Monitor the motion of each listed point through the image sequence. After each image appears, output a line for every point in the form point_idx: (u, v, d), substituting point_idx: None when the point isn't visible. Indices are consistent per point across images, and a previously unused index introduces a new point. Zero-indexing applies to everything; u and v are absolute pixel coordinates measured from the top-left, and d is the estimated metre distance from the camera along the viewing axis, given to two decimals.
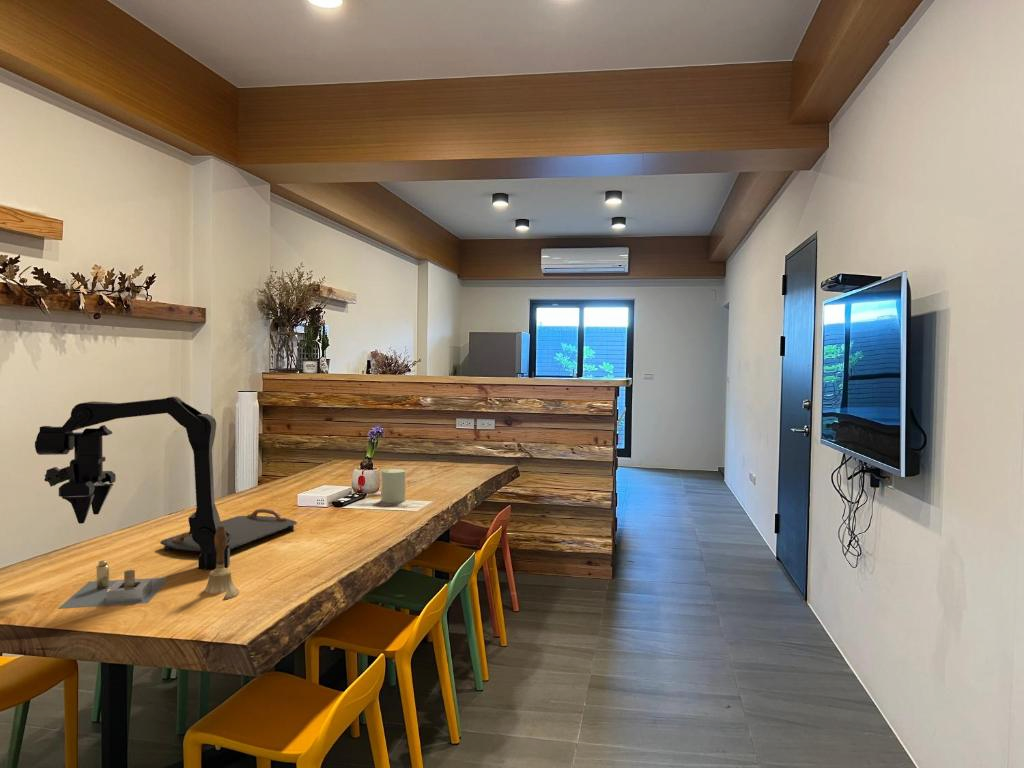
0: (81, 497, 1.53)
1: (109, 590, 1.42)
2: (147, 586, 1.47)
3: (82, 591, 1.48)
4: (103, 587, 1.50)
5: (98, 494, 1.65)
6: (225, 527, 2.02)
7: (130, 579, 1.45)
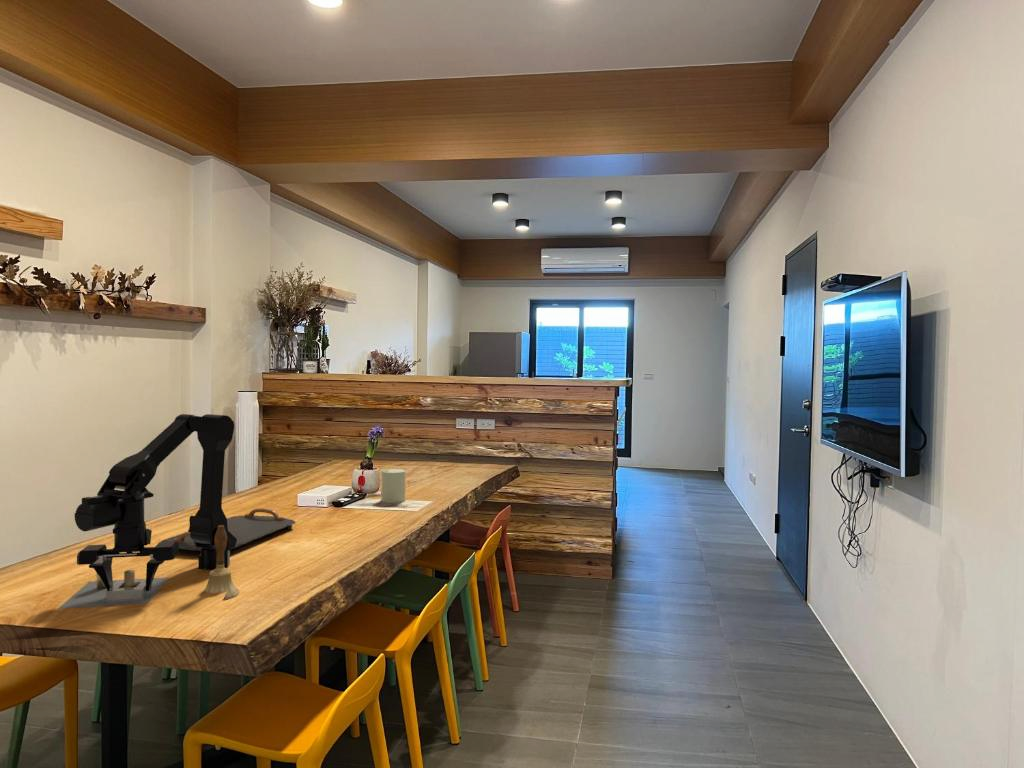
0: None
1: (109, 590, 1.42)
2: None
3: (82, 591, 1.48)
4: (103, 587, 1.50)
5: None
6: None
7: (130, 579, 1.45)
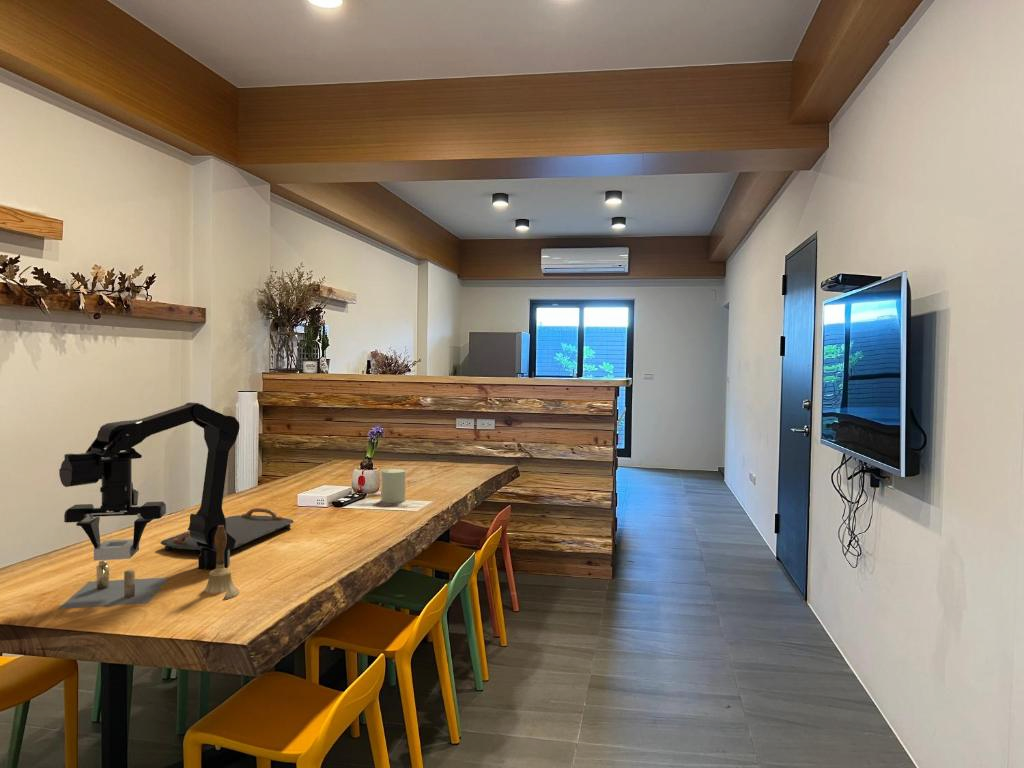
0: None
1: (97, 548, 1.44)
2: None
3: (82, 591, 1.48)
4: (103, 587, 1.50)
5: None
6: None
7: (130, 579, 1.45)
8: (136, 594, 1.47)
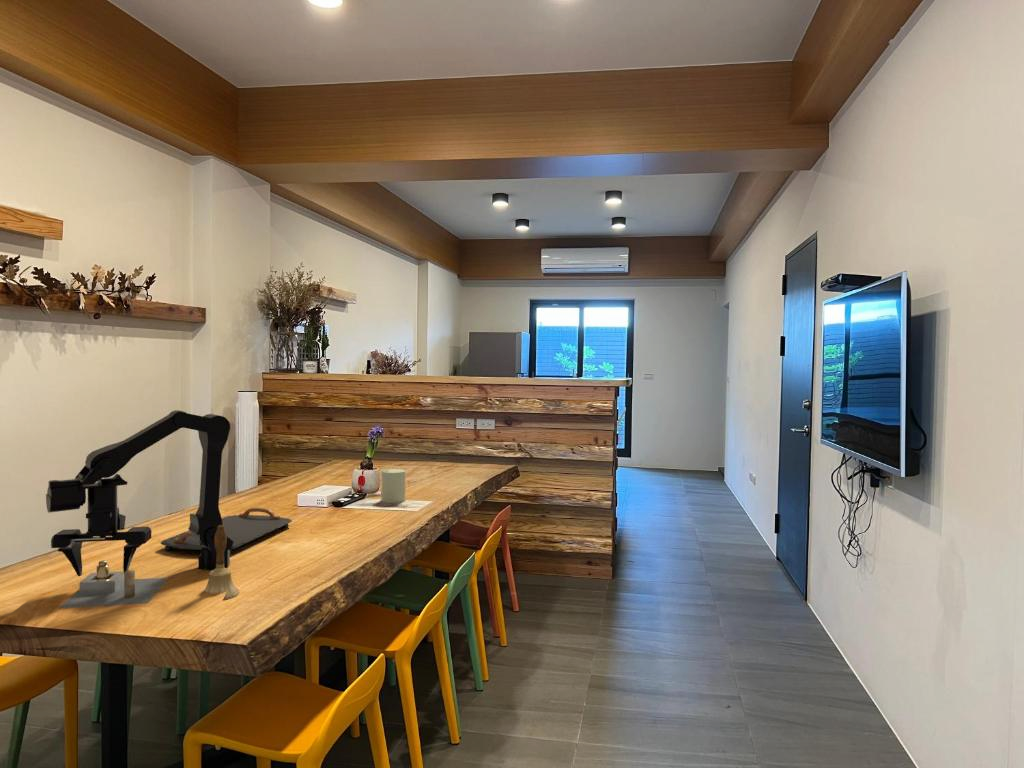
0: None
1: (82, 581, 1.47)
2: (120, 578, 1.52)
3: None
4: None
5: None
6: None
7: (130, 579, 1.45)
8: (136, 594, 1.47)
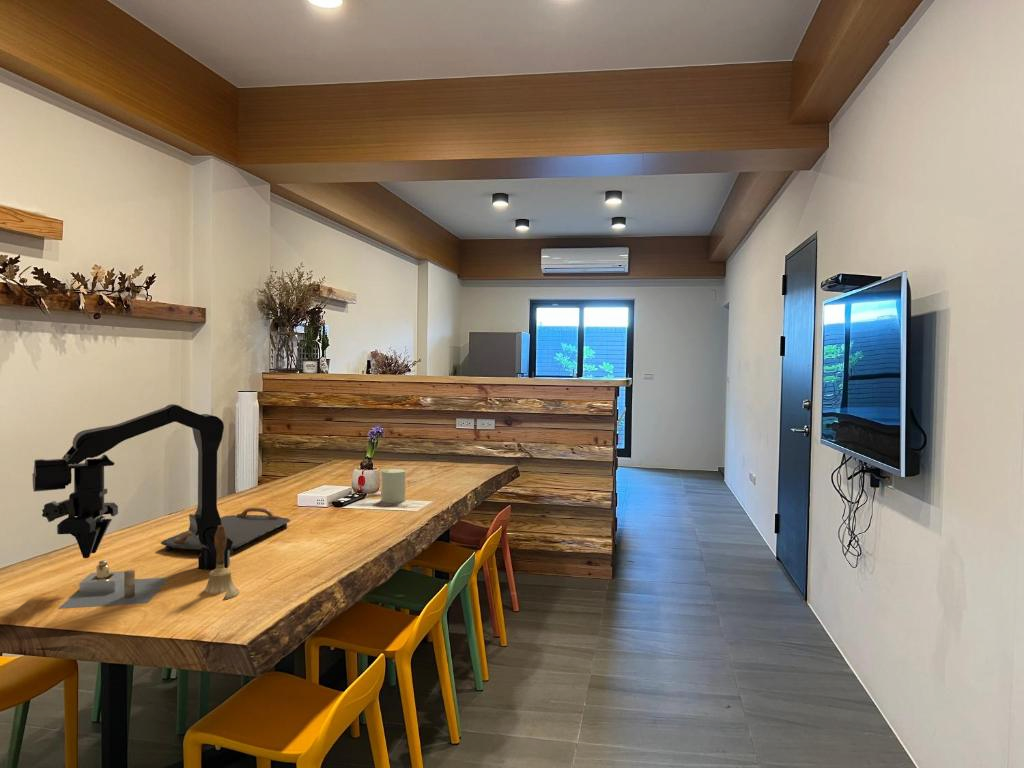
0: None
1: (82, 581, 1.47)
2: (120, 578, 1.52)
3: None
4: None
5: None
6: None
7: (130, 579, 1.45)
8: (136, 594, 1.47)
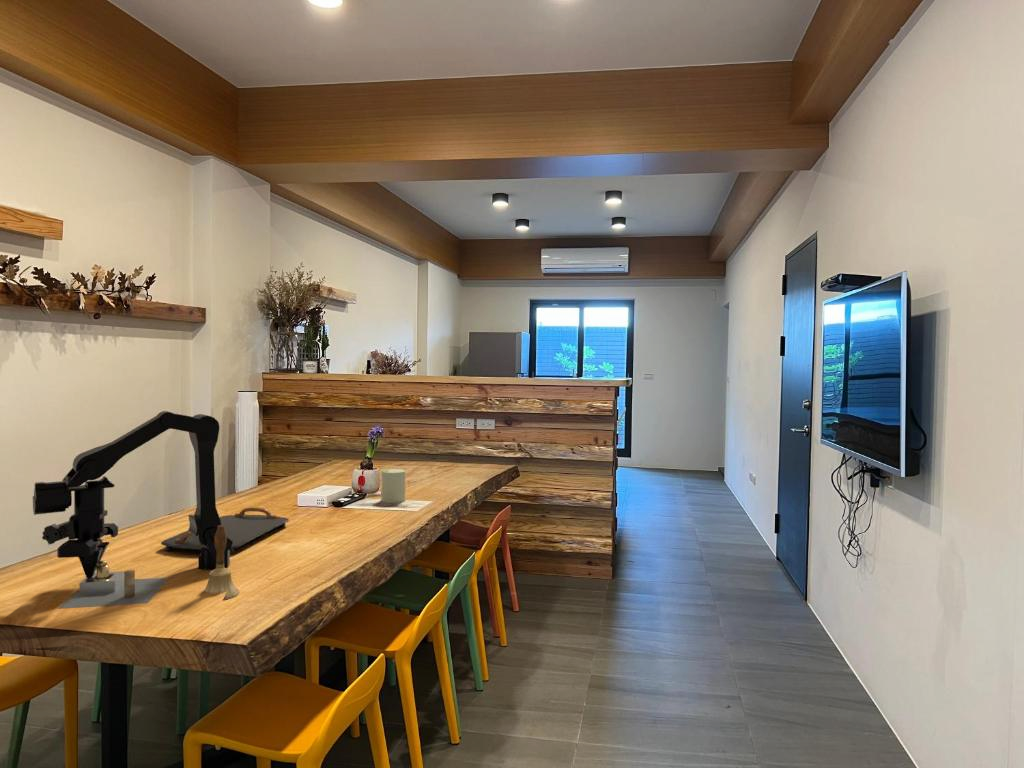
0: None
1: (82, 581, 1.47)
2: (120, 578, 1.52)
3: None
4: None
5: None
6: None
7: (130, 579, 1.45)
8: (136, 594, 1.47)
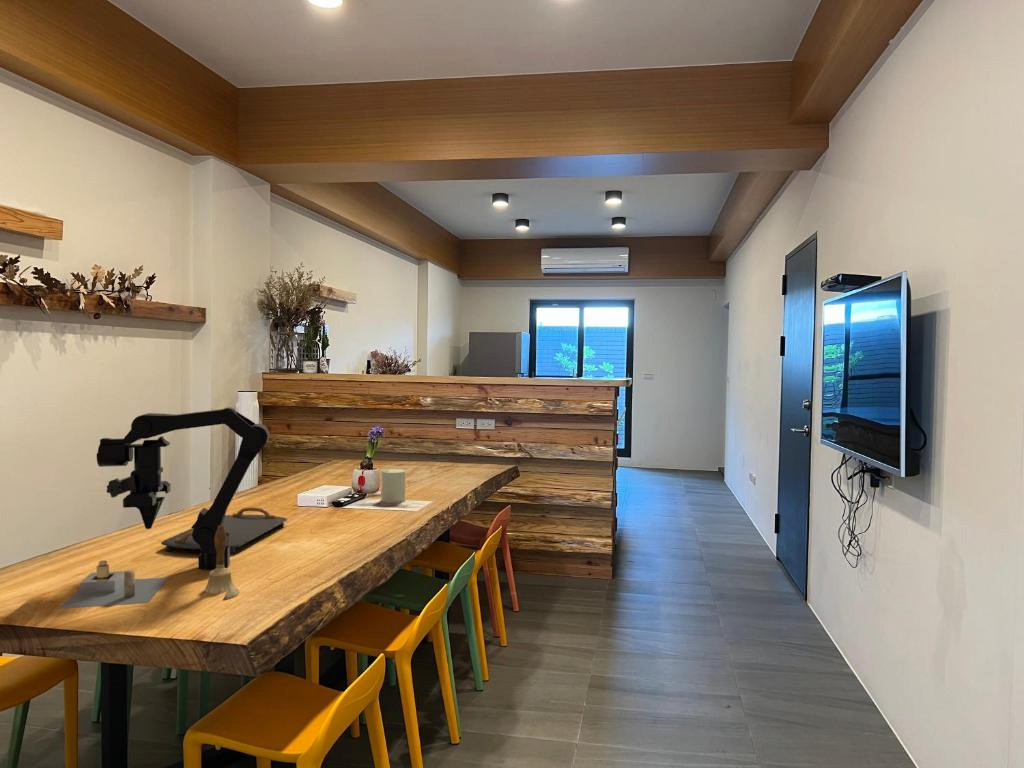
0: None
1: (82, 581, 1.47)
2: (120, 578, 1.52)
3: None
4: None
5: None
6: None
7: (130, 579, 1.45)
8: (136, 594, 1.47)
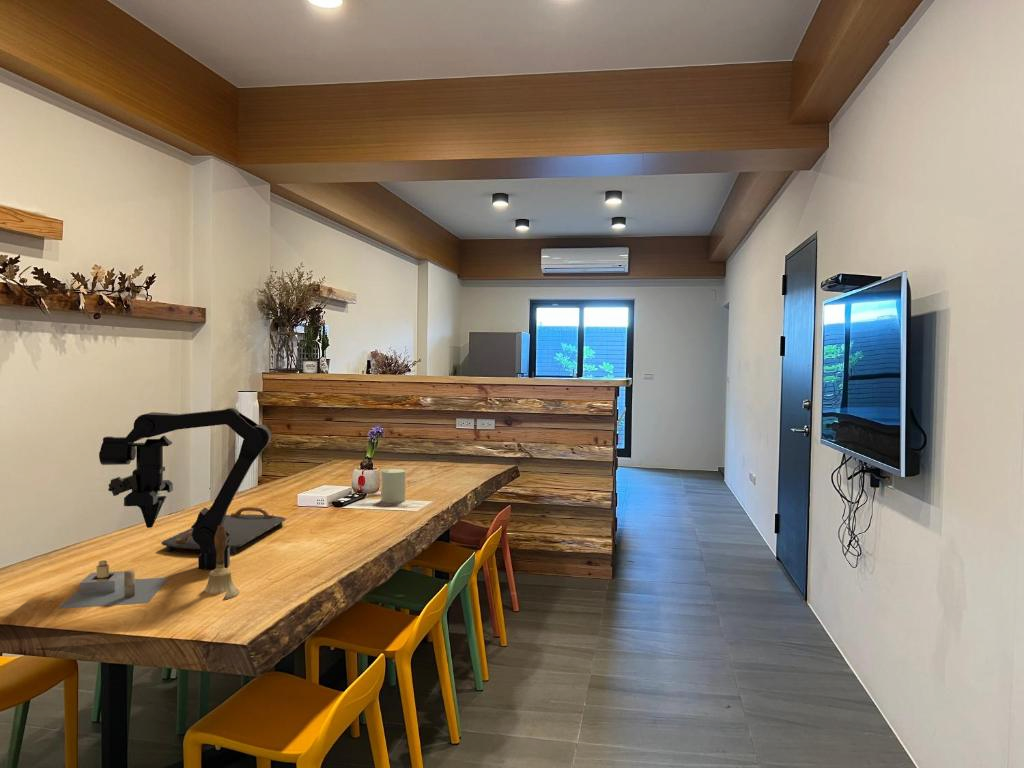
0: None
1: (82, 581, 1.47)
2: (120, 578, 1.52)
3: None
4: None
5: None
6: None
7: (130, 579, 1.45)
8: (136, 594, 1.47)
